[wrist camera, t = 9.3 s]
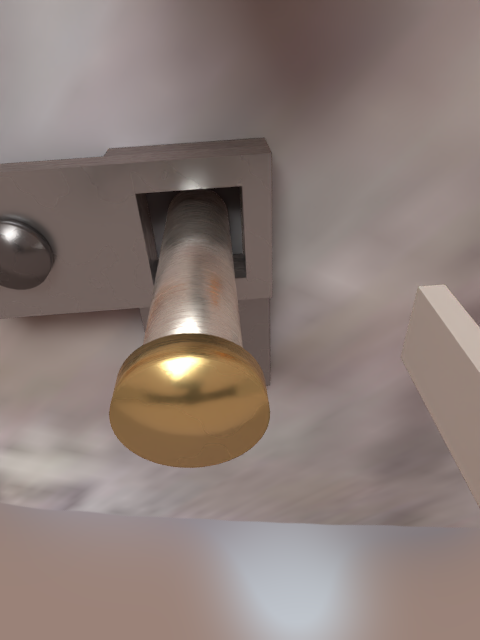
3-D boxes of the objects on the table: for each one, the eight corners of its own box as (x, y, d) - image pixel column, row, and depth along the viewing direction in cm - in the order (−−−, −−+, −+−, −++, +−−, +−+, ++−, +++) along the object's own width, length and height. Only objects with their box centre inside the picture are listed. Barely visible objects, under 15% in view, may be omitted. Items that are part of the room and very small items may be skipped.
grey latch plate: (109, 148, 19) (100, 160, 17) (264, 138, 19) (269, 148, 18) (161, 381, 28) (158, 402, 26) (267, 372, 28) (271, 393, 26)
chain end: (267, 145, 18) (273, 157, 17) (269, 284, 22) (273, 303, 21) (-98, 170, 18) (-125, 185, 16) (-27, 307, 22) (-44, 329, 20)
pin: (150, 179, 20) (90, 368, 9) (235, 173, 20) (269, 353, 10) (164, 255, 22) (128, 473, 12) (240, 249, 22) (270, 460, 12)
